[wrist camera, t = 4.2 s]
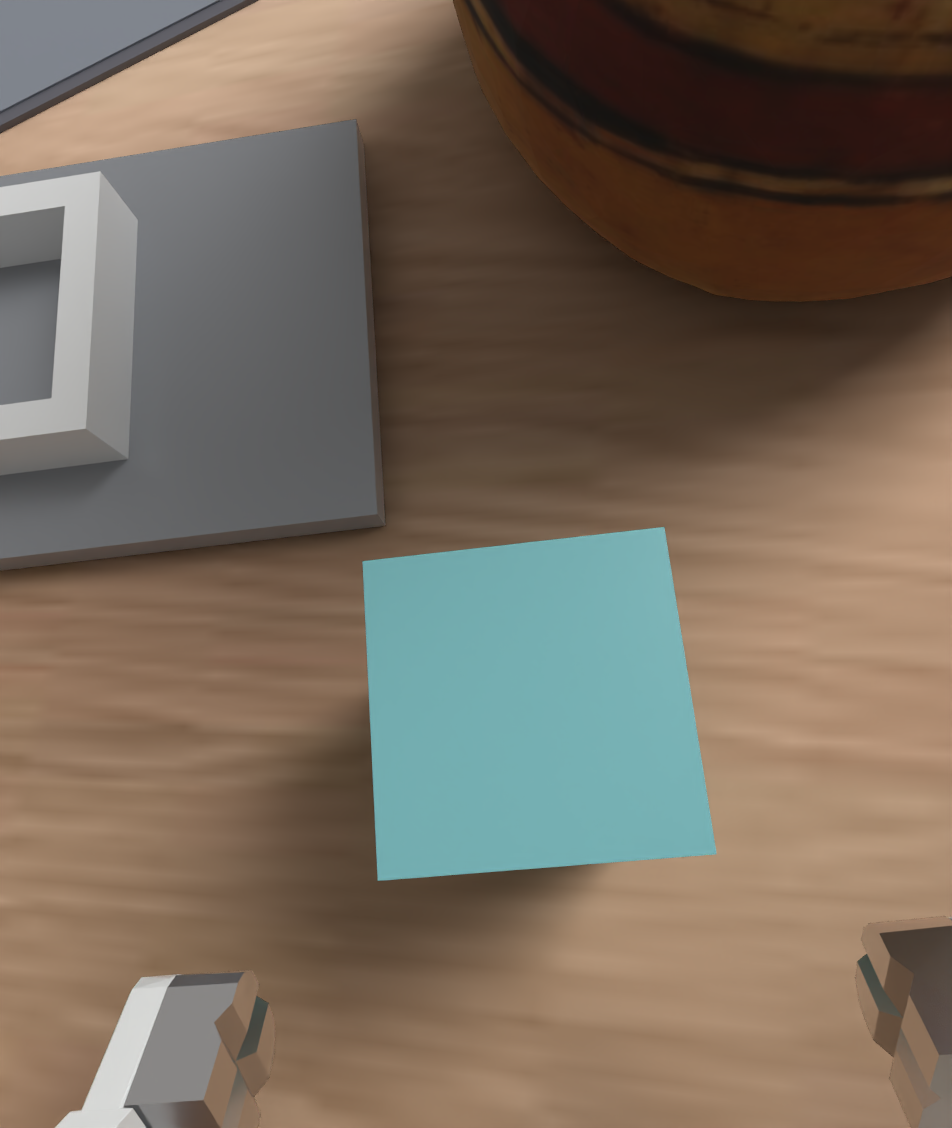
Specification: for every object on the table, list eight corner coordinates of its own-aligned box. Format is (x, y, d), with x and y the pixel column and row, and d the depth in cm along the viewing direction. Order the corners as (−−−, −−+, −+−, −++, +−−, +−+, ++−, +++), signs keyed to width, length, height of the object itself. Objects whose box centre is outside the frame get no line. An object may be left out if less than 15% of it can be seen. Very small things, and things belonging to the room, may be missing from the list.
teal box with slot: (619, 632, 20) (663, 526, 11) (644, 818, 19) (717, 859, 10) (447, 650, 20) (362, 560, 12) (461, 833, 19) (377, 886, 10)
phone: (-136, 65, 29) (-157, 43, 28) (194, -102, 29) (183, -127, 29) (-86, 196, 27) (-107, 177, 26) (266, 15, 27) (256, -8, 27)
